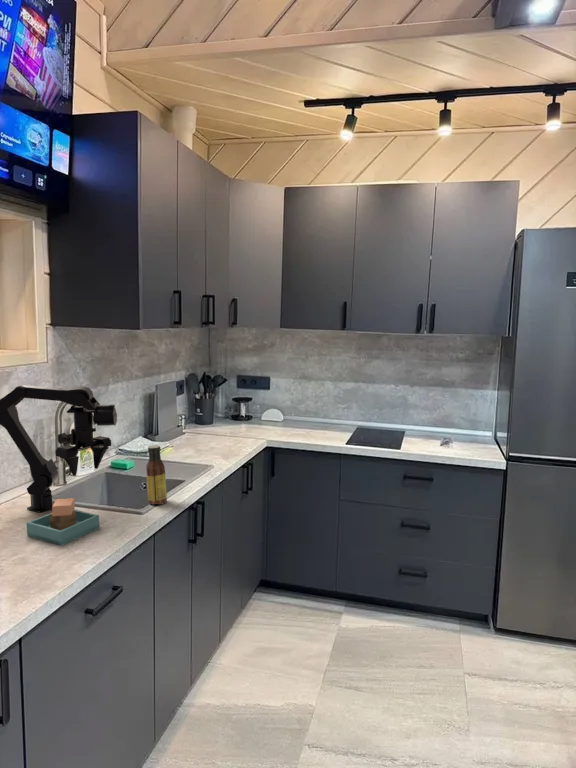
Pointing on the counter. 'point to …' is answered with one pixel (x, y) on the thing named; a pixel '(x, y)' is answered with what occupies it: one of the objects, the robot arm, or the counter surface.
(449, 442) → the counter surface
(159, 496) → the sauce bottle
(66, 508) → the terracotta carton
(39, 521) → the tote
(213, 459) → the counter surface
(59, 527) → the walnut block
